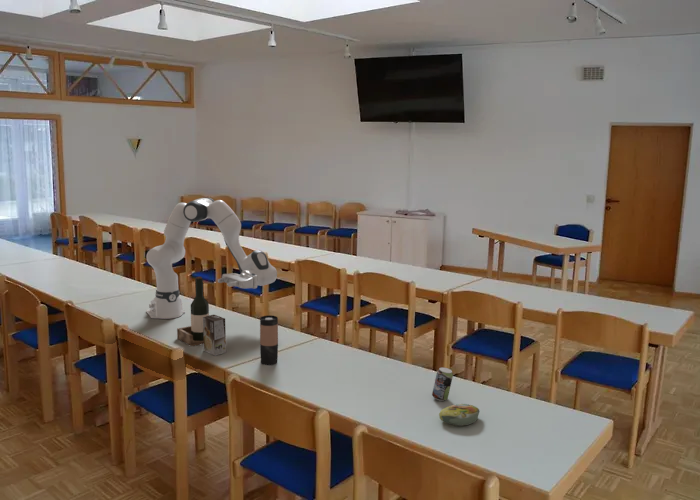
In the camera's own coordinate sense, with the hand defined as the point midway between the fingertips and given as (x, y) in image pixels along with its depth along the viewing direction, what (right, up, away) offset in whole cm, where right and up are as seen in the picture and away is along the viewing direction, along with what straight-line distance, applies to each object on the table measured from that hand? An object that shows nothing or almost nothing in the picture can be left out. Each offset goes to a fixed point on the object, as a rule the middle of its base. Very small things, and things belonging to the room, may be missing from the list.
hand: (223, 282), depth 298 cm
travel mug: (+26, -33, -31) cm, 53 cm away
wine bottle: (-10, -27, -4) cm, 29 cm away
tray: (-11, -27, -4) cm, 29 cm away
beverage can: (+96, -41, -65) cm, 123 cm away
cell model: (+100, -44, -83) cm, 137 cm away
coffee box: (0, -30, -20) cm, 36 cm away
